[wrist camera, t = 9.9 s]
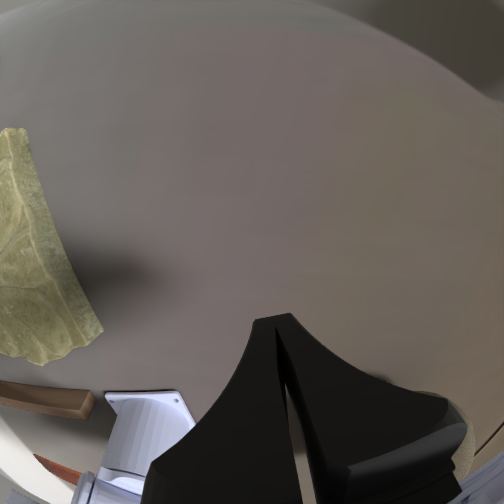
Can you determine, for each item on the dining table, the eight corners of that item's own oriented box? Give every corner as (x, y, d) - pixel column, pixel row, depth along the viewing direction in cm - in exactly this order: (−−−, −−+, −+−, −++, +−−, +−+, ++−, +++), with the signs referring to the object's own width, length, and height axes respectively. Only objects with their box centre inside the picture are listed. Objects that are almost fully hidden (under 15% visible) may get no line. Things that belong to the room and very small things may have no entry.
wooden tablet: (161, 492, 32) (160, 499, 31) (164, 507, 35) (163, 513, 34) (30, 446, 29) (27, 452, 28) (46, 469, 32) (44, 474, 31)
